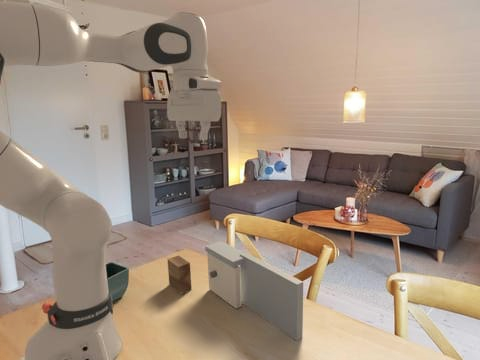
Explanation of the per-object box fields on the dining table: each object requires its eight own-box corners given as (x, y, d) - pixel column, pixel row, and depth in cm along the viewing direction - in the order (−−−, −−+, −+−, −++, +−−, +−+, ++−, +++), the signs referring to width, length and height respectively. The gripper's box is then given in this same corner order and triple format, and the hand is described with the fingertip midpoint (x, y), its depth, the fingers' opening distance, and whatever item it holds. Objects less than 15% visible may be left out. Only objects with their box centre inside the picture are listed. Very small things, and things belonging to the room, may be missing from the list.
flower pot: (89, 300, 110) (85, 272, 108) (114, 287, 117) (111, 261, 115) (107, 309, 105) (104, 280, 103) (132, 295, 112) (129, 268, 110)
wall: (285, 347, 88) (285, 290, 84) (207, 290, 114) (204, 244, 111) (302, 337, 91) (303, 281, 88) (223, 284, 118) (221, 239, 114)
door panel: (232, 310, 103) (231, 270, 100) (205, 290, 114) (203, 253, 111) (240, 306, 104) (239, 267, 102) (213, 287, 115) (211, 251, 113)
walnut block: (180, 294, 112) (178, 266, 110) (169, 285, 118) (167, 258, 116) (191, 289, 115) (189, 262, 113) (180, 281, 120) (178, 255, 118)
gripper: (160, 85, 99) (162, 137, 102) (203, 80, 84) (204, 141, 86) (180, 86, 103) (182, 136, 106) (225, 81, 88) (226, 140, 90)
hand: (192, 139), depth 96 cm, fingers open, 8 cm apart
